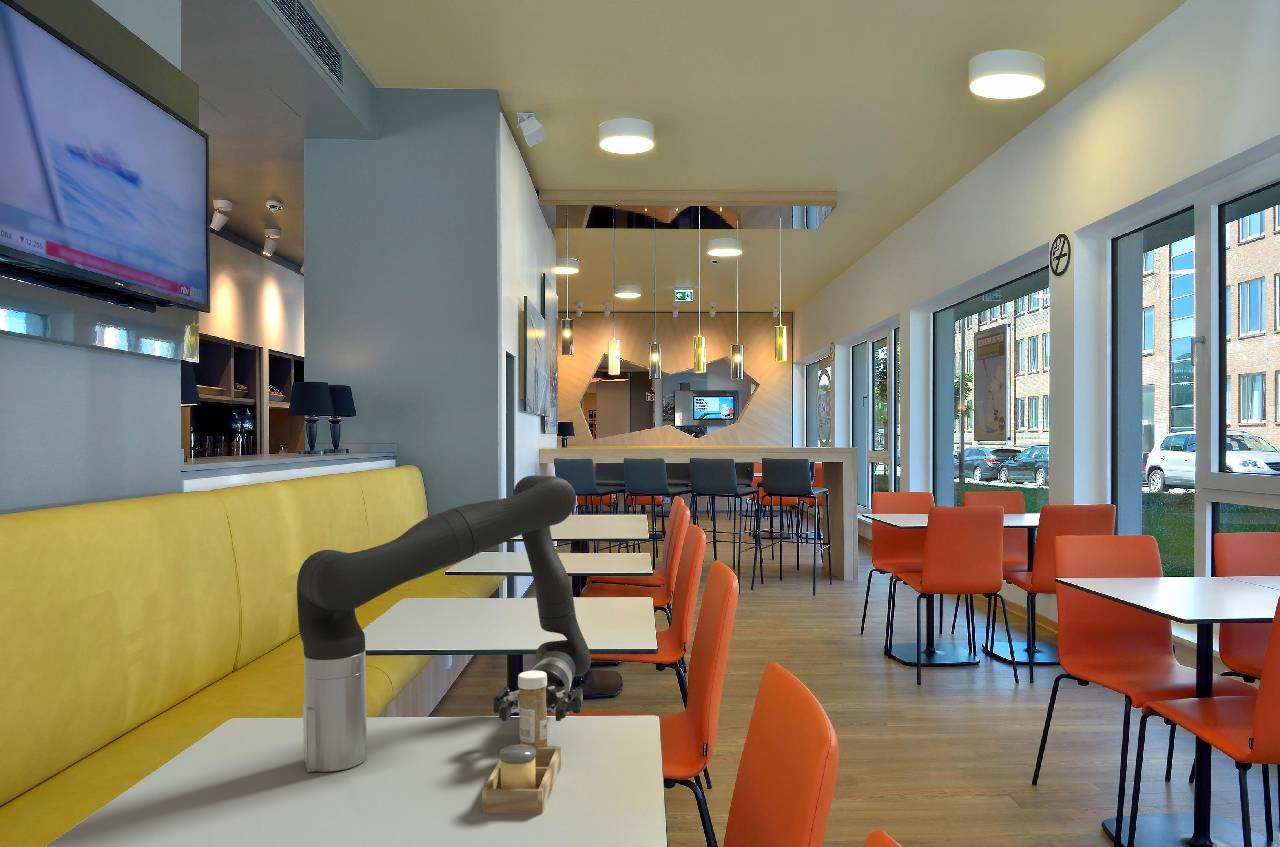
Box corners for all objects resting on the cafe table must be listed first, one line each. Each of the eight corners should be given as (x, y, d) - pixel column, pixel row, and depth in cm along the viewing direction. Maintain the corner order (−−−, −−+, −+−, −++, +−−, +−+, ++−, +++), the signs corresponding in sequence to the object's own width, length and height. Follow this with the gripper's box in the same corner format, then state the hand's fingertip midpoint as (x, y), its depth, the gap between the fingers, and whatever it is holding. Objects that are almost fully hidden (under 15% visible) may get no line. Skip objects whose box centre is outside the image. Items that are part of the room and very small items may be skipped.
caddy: (542, 817, 116) (542, 790, 116) (482, 816, 117) (481, 790, 117) (561, 770, 132) (560, 747, 132) (508, 769, 132) (507, 746, 132)
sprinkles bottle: (553, 759, 136) (551, 674, 136) (527, 766, 133) (525, 679, 134) (540, 750, 140) (538, 667, 140) (514, 757, 137) (513, 672, 137)
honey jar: (506, 810, 117) (505, 760, 117) (495, 796, 121) (495, 748, 122) (541, 802, 119) (540, 753, 119) (529, 789, 124) (529, 742, 124)
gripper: (508, 662, 152) (485, 690, 135) (588, 662, 151) (575, 691, 134) (508, 705, 151) (486, 738, 135) (589, 705, 151) (576, 739, 134)
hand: (530, 714), depth 135 cm, fingers open, 8 cm apart
